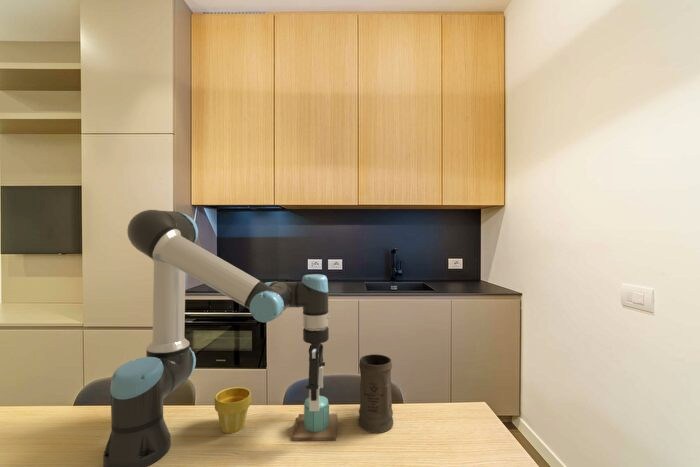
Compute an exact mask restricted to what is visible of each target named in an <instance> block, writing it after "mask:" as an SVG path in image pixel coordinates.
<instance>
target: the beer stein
mask: <svg viewBox="0 0 700 467" xmlns="http://www.w3.org/2000/svg"><path fill="white" fill-rule="evenodd" d="M358 365H359V366H358V367H359V374H360V384H359V385H360V386H359V393H360V396H359V397H360V398H359V399H360V400H359V401H360V402H359V403H360V404H359V410H358V414H359V415H358V418H357V419H358V421H357V422H358V426H359V427H360V428H361V429H362V430H364V431H366V432H368V433H373V434H374V433H377V434H379V433H386V432H388V431H390V430H391V429H392V428H393V426H394V418H393V414H394V411H393V404H392V376H391V375H392V368H393V363H392V359H391V358H390V357H389V356H386V355H383V354H378V353H377V354H373V353H372V354H368V355H367V354H366V355H363V356H361V357H360V359H359V364H358Z"/></svg>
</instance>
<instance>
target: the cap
mask: <svg viewBox="0 0 700 467" xmlns="http://www.w3.org/2000/svg"><path fill="white" fill-rule="evenodd" d="M303 414H304V426H305V429H306V430H309V431H311V432H318V431H323V430H325V429H326V428H327V427H328V426H329V414H330V404H329V399H328V398H327V397H326V396H323V395H319V411H309V397H306V399H305V400H304V403H303Z"/></svg>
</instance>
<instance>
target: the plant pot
mask: <svg viewBox="0 0 700 467" xmlns="http://www.w3.org/2000/svg"><path fill="white" fill-rule="evenodd" d="M251 403H252V392H251V390H250V389H249V388H246V387H244V386H235V387H228V388H225V389H222V390H221V391H218V392H217V393H216V394H215V396H214V410H215V411H216V412H217V417H218V421H219V422H218V423H219V425H220V430H221V432H224V433H226V434H233V433H234V434H235V433H237V432H239V431H241V430H242V429H243V428H244V427H245V422H246V418H247V415H248V414H247V413H248V409H249V407H250V406H251Z"/></svg>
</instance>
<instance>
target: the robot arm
mask: <svg viewBox="0 0 700 467" xmlns="http://www.w3.org/2000/svg"><path fill="white" fill-rule="evenodd" d="M126 231H127V237H128V238H127V239H128V240H129V241H130V243H131V245H132V246H133V247H134V248H135V249H136V250H138V251H139V252H141V253H142V254H144V255H145V256H147V257H148V258H149V259H151V260H152V262H153V285H152V286H153V288H152V289H153V292H152V294H153V295H152V298H153V299H152V341H151V342H150V344H148V345H147V346H146V353H145V354H146V356H144V357H138V358H136V359H135V360H130V361H128V362H125V363H123V364H122V365H120V366H119V367H117V369H116V370H115V371H114V372H113V374H112V376H111V382H110V383H111V384H110V387H109V392H110V409H111V410H110V416H111V417H110V418H111V422H110V423H111V425H110V426H111V427H110V428H111V431H110V434H109V437H108V440H107V442H106V446H105V448H104V451H103V455H102V456H103V457H102V458H103V459H102V460H103V463H102V464H103V467H148V466H151V465H153V464H154V463H156V462H158V461H159V460H160V459H162V458H163V457H164V456H165V455H166V454H167V453H168V452H169V451H170V449H171V444H172V442H171V441H172V440H171V439H172V438H171V432H170V431H169V428H168V426H167V424H166V421H165V419H164V399H165V398H166V397H168V396H169V395H170V394H171V393H172V392H174V391H175V390H176V389H178V388H179V387H180V386H181V385H183V384H184V383H185V382H186V381H187V380H188V379H189V378H190V376H191V375H192V374H193V372H194V370H195V368H196V364H197V363H196V362H197V358H196V355H195V352H194V351H193V350H192V348H191V347H190V341H189V340H188V339H187V338H185V326H186V325H185V319H186V318H185V317H186V316H185V315H186V314H185V313H186V274H187V275H188V276H191V277H192V278H194V279H196V280H198V281H199V282H201V283H203V284H205V285H206V286H208V287H210V288H212V289H213V290H214V291H217V292H219V293H220V294H222V295H224V296H226V297H227V298H229V299H231V300H232V301H234V302H236V303H238V304H239V305H241V306H243V307H245V308H247V309H248V310H249V312H250V314H251V316H252V317H253V318H254V320H255V321H257V322H259V323H270V322H271V321H274V320H275V319H277V318H279V317H280V315H281V314H282V313H283V312H284V311H285V310H286V309H287V308H288V309H289V308H302V327H303V329H302V339H303V341H304V342H305V343H306V344H310V345H309V348H308V354H309V356H308V384H307V385H305V386H306V387H305V388H306V389H307V390H308V398H309V411H319V396H320V389H323V388H324V367H325V366H326V362H325V361H324V356H323V354H324V344H323V343H326V342H328V340H329V339H330V338H329V332H330V331H329V330H330V328H329V327H328V326H329V320H330V319H331V316H330V315H329V282H328V281H329V280H328V278H327V275H324V274H321V273H320V274H318V273H316V274H315V273H313V274H305V275H303V276H302V280H301V281H269V282H262V281H261V280H259V279H257V278H256V277H254V276H252V275H251V274H249V273H247V272H245V271H244V270H242V269H240V268H239V267H236V266H235V265H233V264H231V263H230V262H227V261H226V260H224V259H222V258H221V257H219V256H217V255H216V254H214V253H212V252H210V251H208V250H206V249H205V248H203V247H202V246H200V245H198V244H196V242H197V240H198V237H199V228H198V225H197V223H196V221H195V220H194V219H193V218H192V217H191V216H189V215H188V214H186V213H182V212H179V211H175V210H174V211H172V210H171V211H170V210H169V211H168V210H158V209H147V210H143V211H141V212H138V213H136V214H135V215H134V216H133V217H132V218H131V219H130V221H129V223H128V225H127V229H126Z"/></svg>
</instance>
